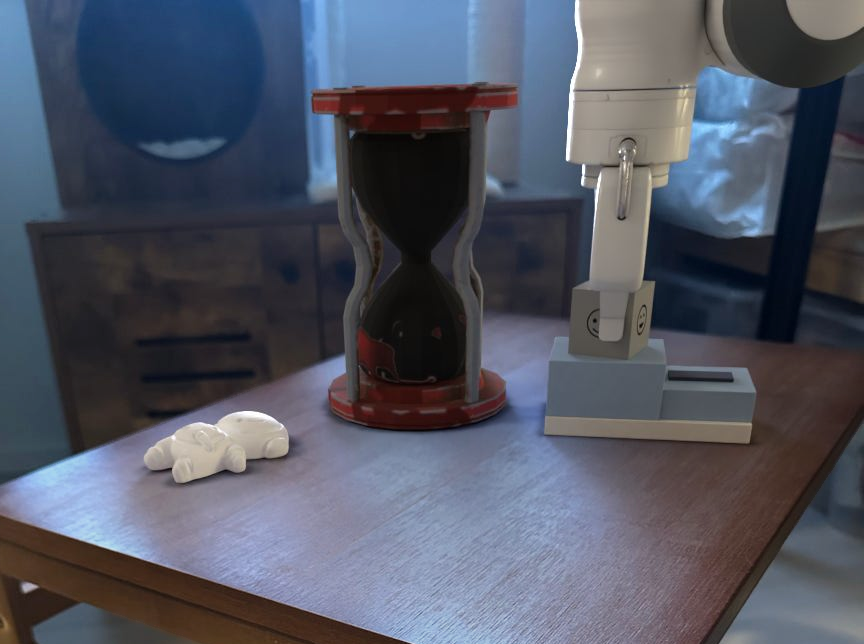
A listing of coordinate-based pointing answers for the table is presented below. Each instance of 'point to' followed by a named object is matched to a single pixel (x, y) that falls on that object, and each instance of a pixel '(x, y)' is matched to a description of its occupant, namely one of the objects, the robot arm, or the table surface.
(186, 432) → the astronaut figurine
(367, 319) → the hourglass
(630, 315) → the beige smiley face cube
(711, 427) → the stepped block with slot
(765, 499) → the table surface
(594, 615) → the table surface
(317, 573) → the table surface
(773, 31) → the robot arm
